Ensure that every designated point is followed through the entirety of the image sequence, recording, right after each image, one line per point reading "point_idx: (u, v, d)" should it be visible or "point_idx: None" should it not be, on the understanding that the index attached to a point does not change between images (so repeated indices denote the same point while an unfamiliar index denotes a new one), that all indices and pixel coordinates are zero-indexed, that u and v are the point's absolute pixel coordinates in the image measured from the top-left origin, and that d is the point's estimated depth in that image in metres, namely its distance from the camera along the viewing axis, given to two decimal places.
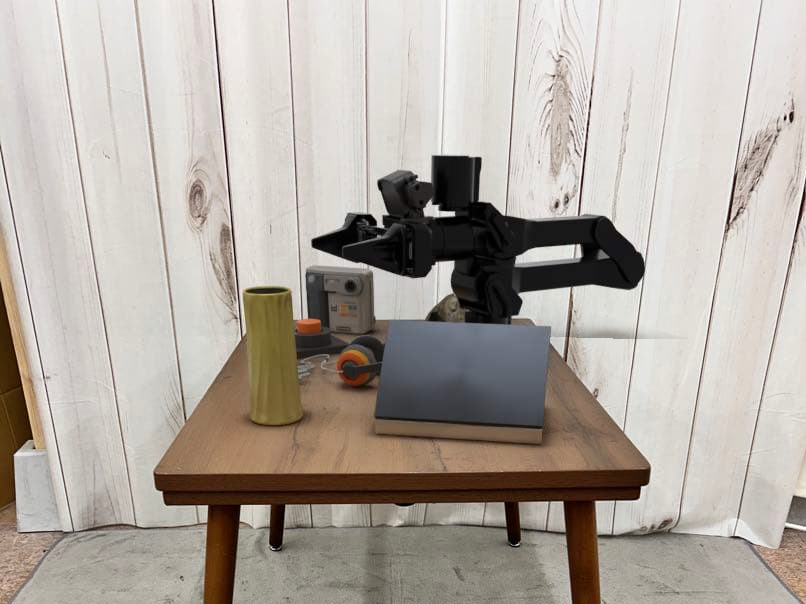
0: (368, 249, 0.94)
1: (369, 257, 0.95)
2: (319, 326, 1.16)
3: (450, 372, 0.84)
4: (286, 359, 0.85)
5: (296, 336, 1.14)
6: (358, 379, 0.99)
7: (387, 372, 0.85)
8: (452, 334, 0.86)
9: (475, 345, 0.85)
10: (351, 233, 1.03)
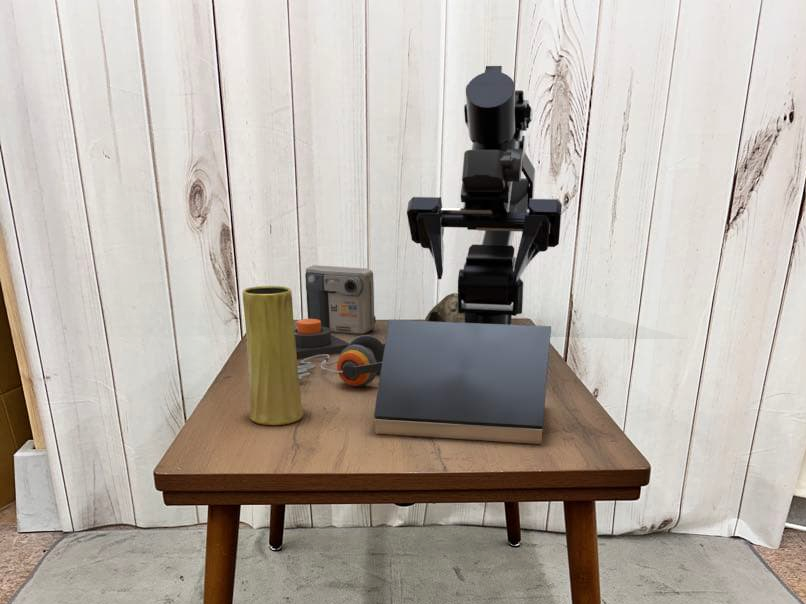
0: (526, 258, 0.94)
1: (525, 262, 0.95)
2: (319, 326, 1.16)
3: (450, 372, 0.84)
4: (286, 359, 0.85)
5: (296, 336, 1.14)
6: (358, 379, 0.99)
7: (387, 372, 0.85)
8: (452, 334, 0.86)
9: (475, 345, 0.85)
10: (441, 231, 0.96)
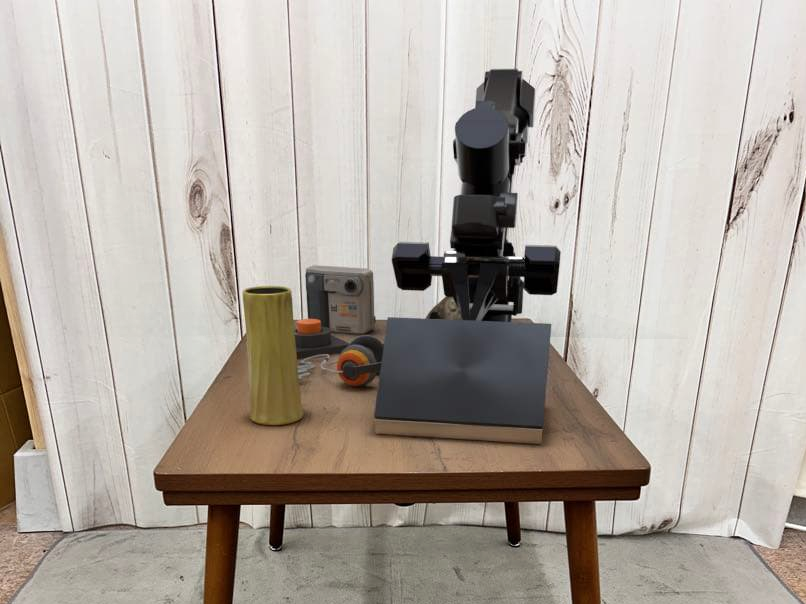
0: (482, 309, 0.87)
1: (481, 313, 0.88)
2: (319, 326, 1.16)
3: (450, 371, 0.84)
4: (286, 359, 0.85)
5: (296, 336, 1.14)
6: (358, 379, 0.99)
7: (387, 371, 0.85)
8: (452, 332, 0.85)
9: (475, 343, 0.84)
10: None
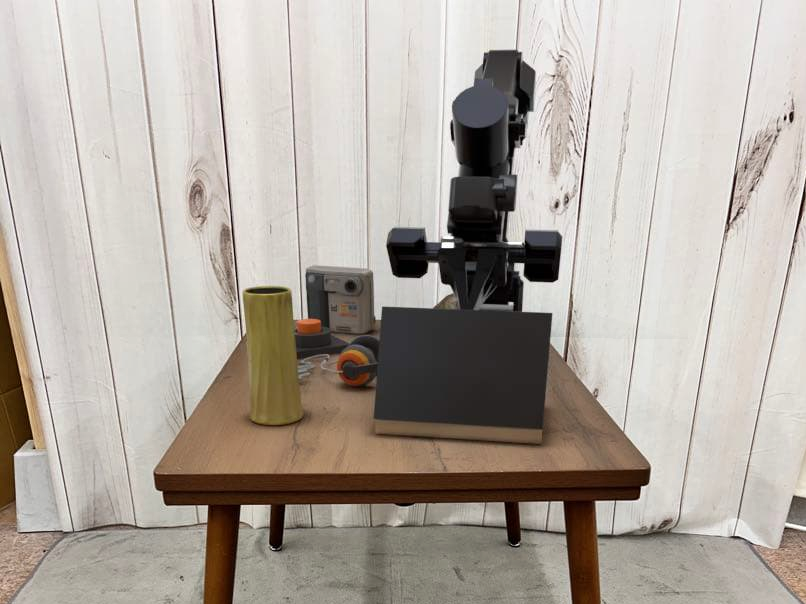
0: (480, 296, 0.83)
1: (479, 300, 0.84)
2: (319, 326, 1.16)
3: (448, 368, 0.82)
4: (286, 359, 0.85)
5: (296, 336, 1.14)
6: (358, 379, 0.99)
7: (384, 368, 0.83)
8: (449, 323, 0.82)
9: (473, 337, 0.82)
10: None
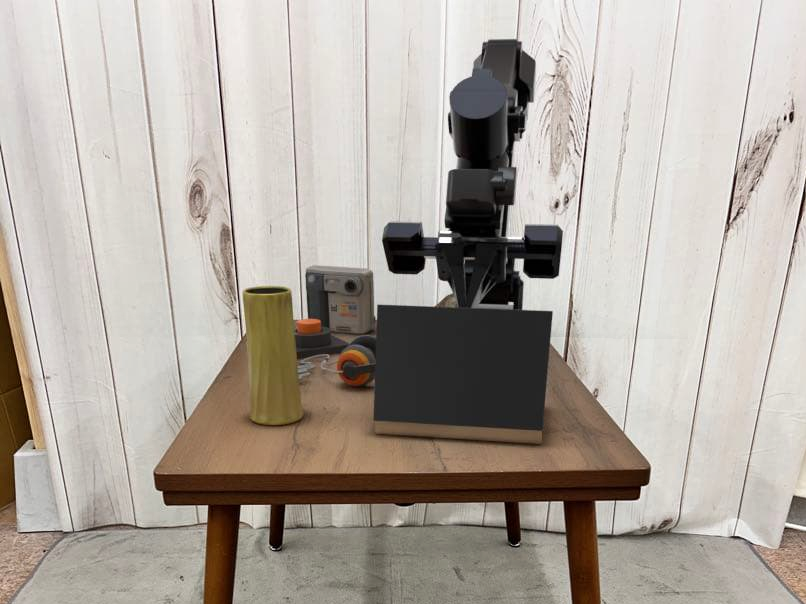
0: (479, 293, 0.81)
1: (478, 297, 0.82)
2: (319, 326, 1.16)
3: (447, 369, 0.81)
4: (286, 359, 0.85)
5: (296, 336, 1.14)
6: (358, 379, 0.99)
7: (382, 369, 0.82)
8: (446, 322, 0.80)
9: (472, 336, 0.80)
10: None
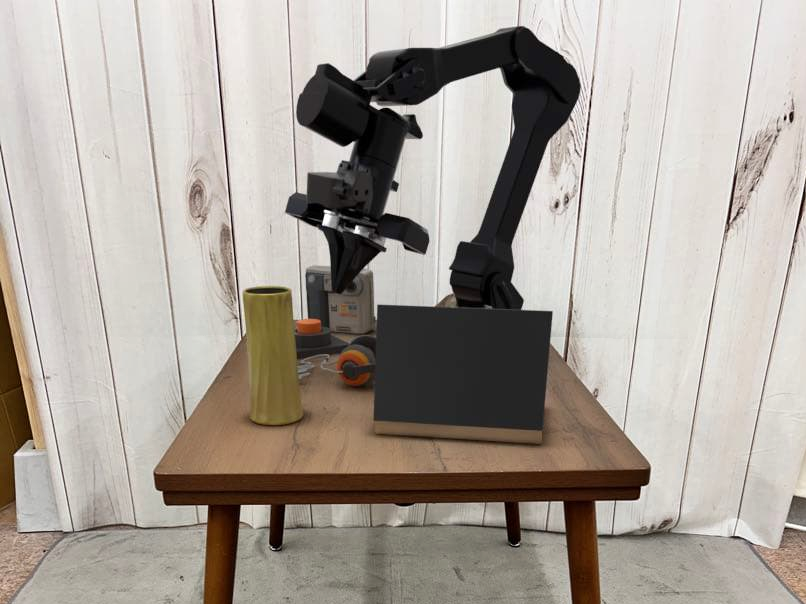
0: (349, 271, 0.95)
1: (353, 271, 0.96)
2: (319, 326, 1.16)
3: (447, 369, 0.81)
4: (286, 359, 0.85)
5: (296, 336, 1.14)
6: (358, 379, 0.99)
7: (382, 369, 0.82)
8: (446, 322, 0.80)
9: (472, 336, 0.80)
10: (342, 241, 0.95)
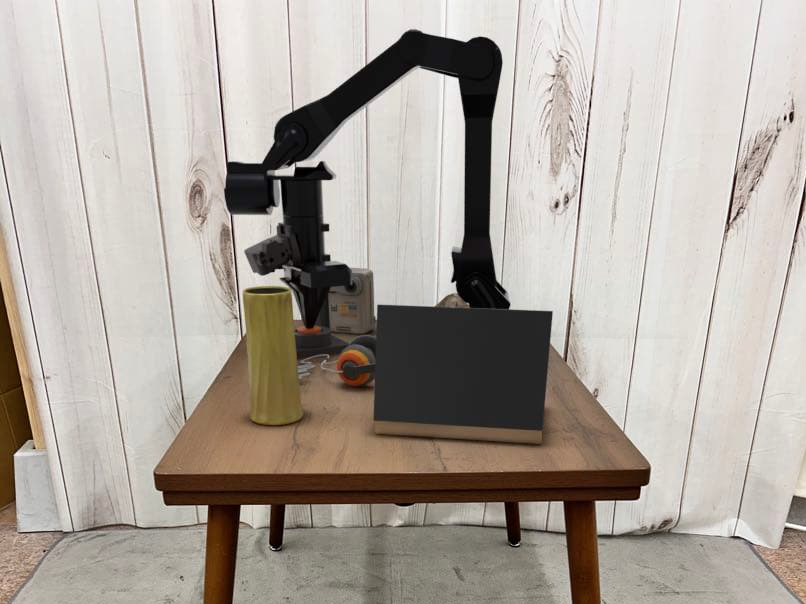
0: (310, 309, 1.14)
1: (315, 307, 1.14)
2: None
3: (447, 369, 0.81)
4: (286, 359, 0.85)
5: (296, 336, 1.14)
6: (358, 379, 0.99)
7: (382, 369, 0.82)
8: (446, 322, 0.80)
9: (472, 336, 0.80)
10: None
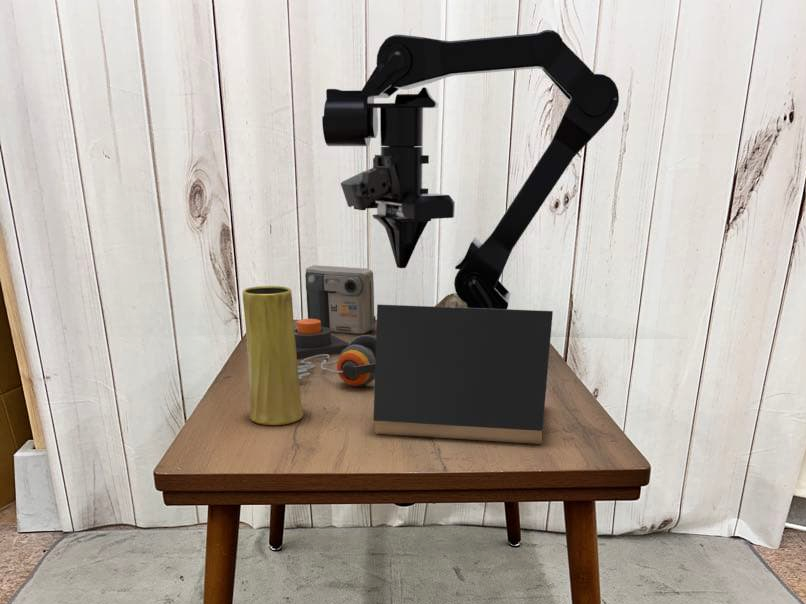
0: (404, 247, 1.10)
1: (410, 245, 1.10)
2: (319, 326, 1.16)
3: (447, 369, 0.81)
4: (286, 359, 0.85)
5: (296, 336, 1.14)
6: (358, 379, 0.99)
7: (382, 369, 0.82)
8: (446, 322, 0.80)
9: (472, 336, 0.80)
10: None
